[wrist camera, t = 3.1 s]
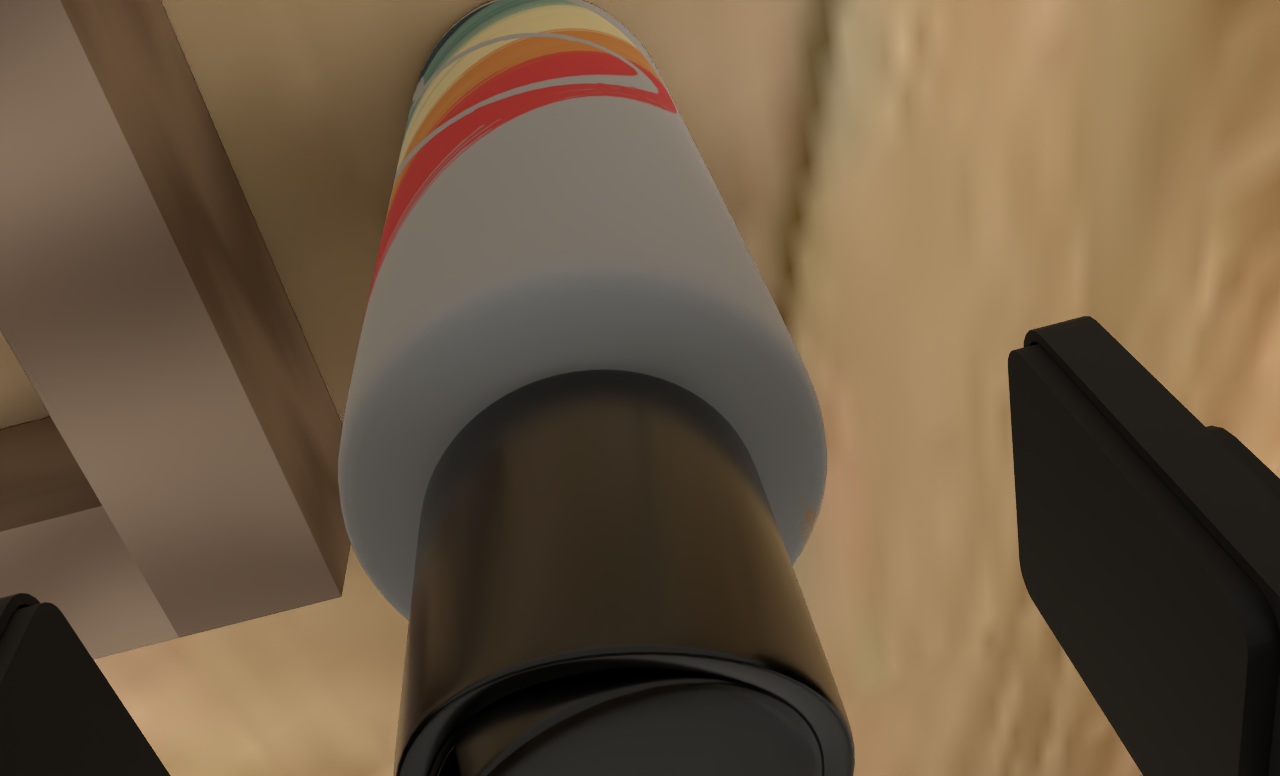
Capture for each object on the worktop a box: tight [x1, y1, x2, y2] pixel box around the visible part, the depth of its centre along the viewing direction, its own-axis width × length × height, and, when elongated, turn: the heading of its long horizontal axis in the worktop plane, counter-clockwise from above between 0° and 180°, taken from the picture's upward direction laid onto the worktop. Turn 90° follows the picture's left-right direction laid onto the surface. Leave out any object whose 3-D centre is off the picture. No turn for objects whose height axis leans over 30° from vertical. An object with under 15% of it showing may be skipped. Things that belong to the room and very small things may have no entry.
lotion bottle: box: [338, 0, 855, 776], centre depth 17 cm, size 6×6×20 cm
